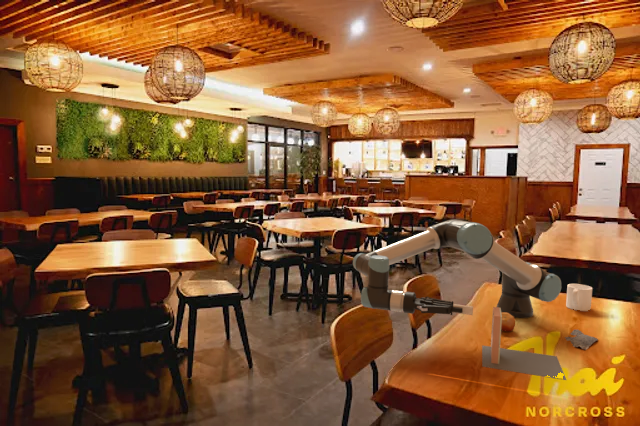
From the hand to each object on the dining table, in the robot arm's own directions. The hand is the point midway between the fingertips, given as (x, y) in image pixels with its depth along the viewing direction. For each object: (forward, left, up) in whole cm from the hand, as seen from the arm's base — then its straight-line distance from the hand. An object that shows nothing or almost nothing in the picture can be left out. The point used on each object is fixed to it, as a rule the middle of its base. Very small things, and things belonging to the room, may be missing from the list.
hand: (472, 310), depth 146 cm
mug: (-20, +85, -16) cm, 88 cm away
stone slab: (+6, +49, -17) cm, 52 cm away
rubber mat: (+11, +11, -16) cm, 22 cm away
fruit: (-13, +30, -16) cm, 36 cm away
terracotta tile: (+5, +6, -15) cm, 17 cm away
